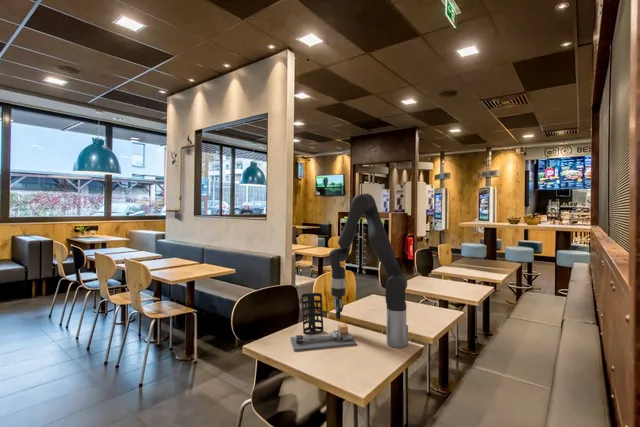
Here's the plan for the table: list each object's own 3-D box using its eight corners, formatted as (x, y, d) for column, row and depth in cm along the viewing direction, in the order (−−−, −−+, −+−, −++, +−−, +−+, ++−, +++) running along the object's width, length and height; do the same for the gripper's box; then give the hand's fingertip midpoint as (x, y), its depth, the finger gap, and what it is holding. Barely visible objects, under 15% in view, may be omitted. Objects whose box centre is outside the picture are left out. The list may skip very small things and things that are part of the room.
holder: (305, 335, 173) (304, 296, 174) (300, 331, 180) (299, 293, 181) (325, 332, 177) (323, 293, 179) (319, 329, 184) (318, 291, 186)
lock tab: (345, 329, 175) (345, 323, 175) (347, 332, 171) (347, 326, 171) (338, 330, 174) (338, 324, 174) (340, 333, 170) (340, 327, 170)
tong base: (346, 332, 175) (346, 325, 175) (352, 340, 165) (352, 333, 165) (294, 336, 170) (294, 330, 170) (297, 346, 159) (297, 338, 159)
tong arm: (332, 335, 168) (333, 333, 168) (334, 337, 165) (334, 335, 165) (294, 337, 164) (294, 335, 164) (295, 340, 161) (295, 337, 161)
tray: (348, 333, 176) (348, 332, 176) (356, 345, 162) (356, 343, 162) (290, 339, 170) (290, 337, 170) (294, 351, 156) (294, 349, 156)
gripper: (348, 289, 174) (348, 322, 174) (341, 282, 186) (341, 313, 187) (334, 289, 172) (334, 323, 173) (328, 283, 185) (328, 314, 186)
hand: (338, 318), depth 180 cm, fingers closed
